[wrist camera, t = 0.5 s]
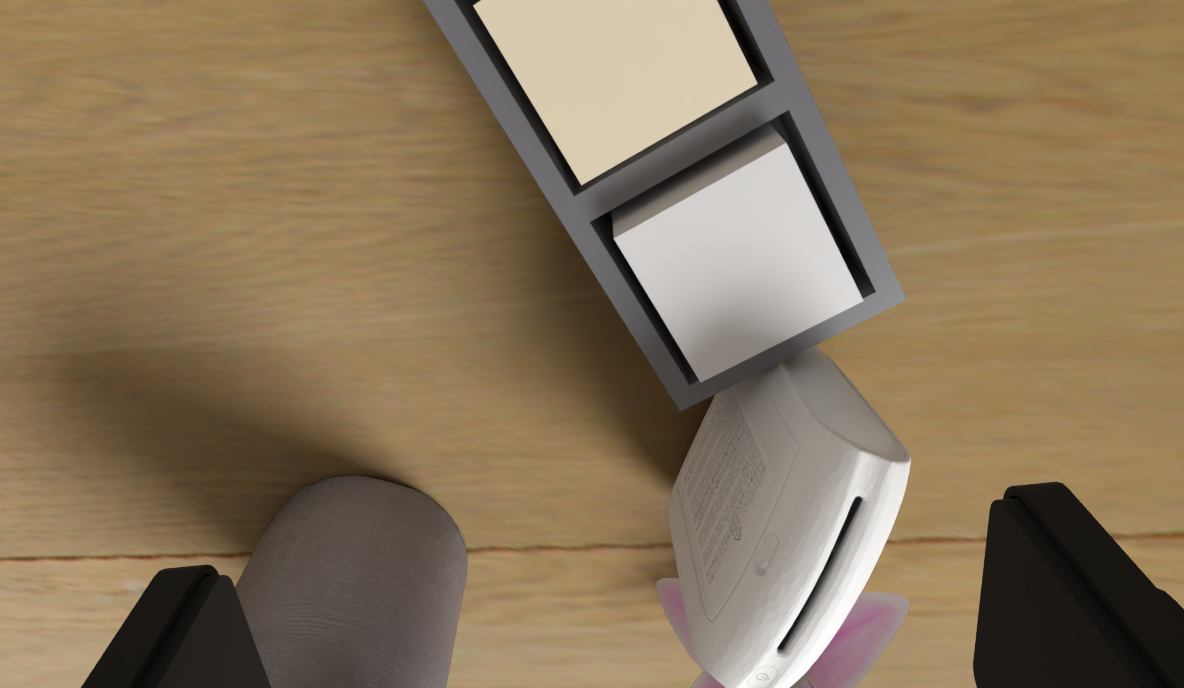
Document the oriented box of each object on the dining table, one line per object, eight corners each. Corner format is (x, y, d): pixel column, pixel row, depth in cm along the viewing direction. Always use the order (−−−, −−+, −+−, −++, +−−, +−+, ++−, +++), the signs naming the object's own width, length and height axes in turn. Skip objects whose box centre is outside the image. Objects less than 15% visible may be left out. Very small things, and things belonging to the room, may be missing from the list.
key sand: (650, -111, 27) (660, -117, 23) (737, 64, 29) (757, 83, 25) (488, -5, 28) (473, 5, 24) (582, 154, 30) (581, 185, 27)
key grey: (763, 116, 30) (786, 142, 26) (833, 258, 32) (863, 301, 28) (611, 202, 31) (613, 238, 27) (688, 333, 33) (700, 382, 30)
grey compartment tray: (533, -446, 25) (518, -537, 20) (862, 246, 35) (906, 299, 30) (297, -263, 27) (231, -305, 22) (668, 346, 37) (679, 412, 32)
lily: (920, 498, 40) (888, 599, 31) (949, 728, 42) (926, 880, 33) (679, 497, 45) (598, 583, 37) (714, 699, 47) (645, 823, 39)
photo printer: (739, 546, 39) (807, 749, 27) (652, 515, 39) (683, 709, 27) (840, 344, 36) (964, 474, 25) (748, 309, 36) (829, 424, 24)
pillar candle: (341, 656, 44) (236, 974, 31) (223, 518, 41) (45, 814, 27) (506, 588, 43) (472, 895, 29) (400, 437, 39) (303, 710, 25)
